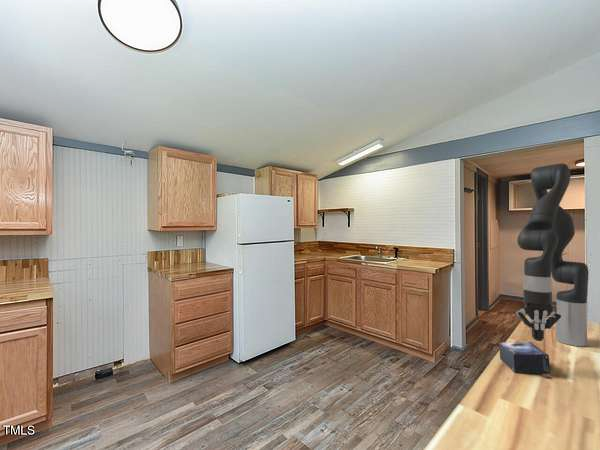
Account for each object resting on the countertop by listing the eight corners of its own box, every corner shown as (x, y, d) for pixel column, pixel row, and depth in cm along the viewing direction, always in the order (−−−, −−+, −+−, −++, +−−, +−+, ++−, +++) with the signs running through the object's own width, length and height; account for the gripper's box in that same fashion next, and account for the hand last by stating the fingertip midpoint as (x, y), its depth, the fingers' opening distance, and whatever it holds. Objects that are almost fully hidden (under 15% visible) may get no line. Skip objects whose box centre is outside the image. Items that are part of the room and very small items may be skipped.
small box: (549, 353, 93) (512, 353, 95) (551, 374, 93) (514, 373, 95) (530, 341, 104) (497, 341, 106) (532, 359, 103) (499, 359, 106)
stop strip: (522, 358, 106) (522, 356, 106) (527, 358, 105) (527, 357, 105) (545, 378, 92) (545, 376, 92) (551, 378, 92) (551, 376, 92)
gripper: (553, 287, 101) (553, 337, 101) (509, 285, 104) (510, 334, 104) (567, 292, 93) (568, 346, 93) (520, 290, 96) (521, 342, 96)
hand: (537, 340), depth 98 cm, fingers closed
